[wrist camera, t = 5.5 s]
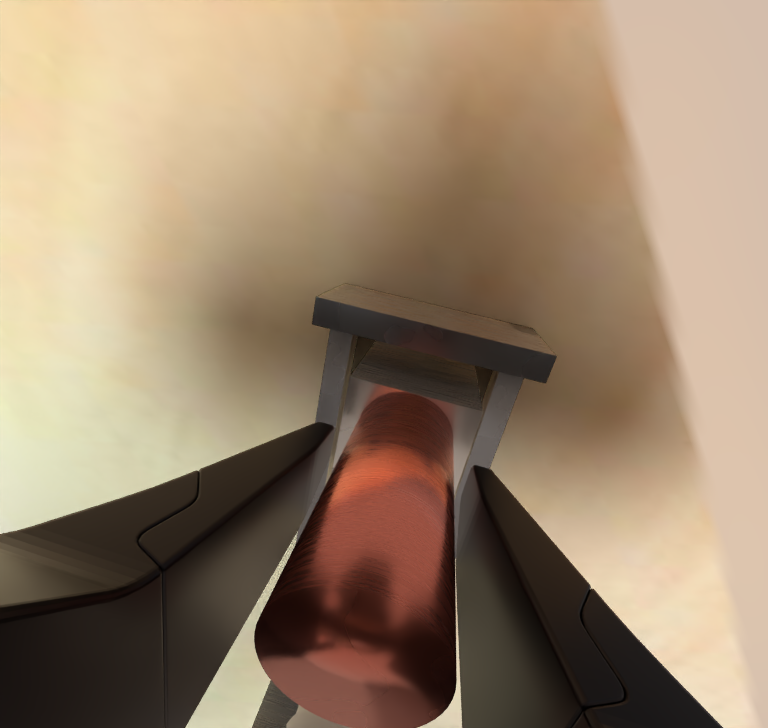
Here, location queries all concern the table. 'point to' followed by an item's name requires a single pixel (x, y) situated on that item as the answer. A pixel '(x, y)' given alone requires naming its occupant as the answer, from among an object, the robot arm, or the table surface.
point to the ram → (379, 552)
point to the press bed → (428, 335)
